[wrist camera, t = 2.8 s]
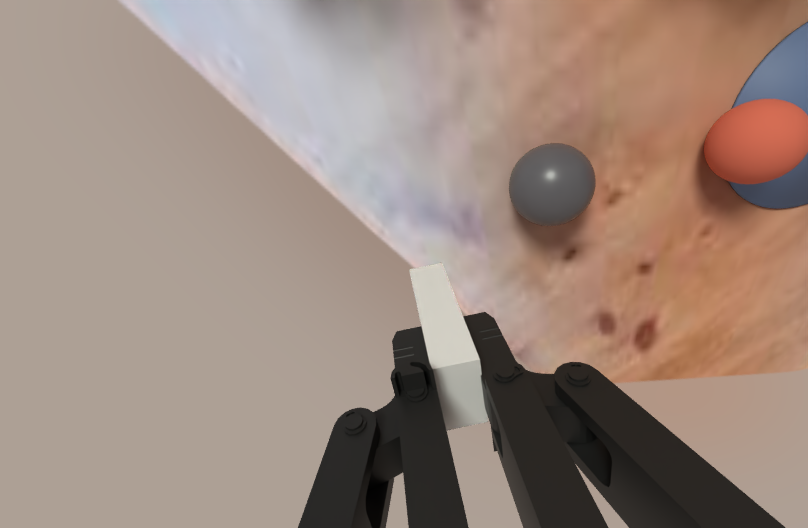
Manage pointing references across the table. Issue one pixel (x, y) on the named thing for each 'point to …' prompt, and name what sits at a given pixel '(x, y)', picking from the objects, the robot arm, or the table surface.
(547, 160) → the dark grey sphere
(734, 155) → the red ball
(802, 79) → the blue plate
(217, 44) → the table surface
